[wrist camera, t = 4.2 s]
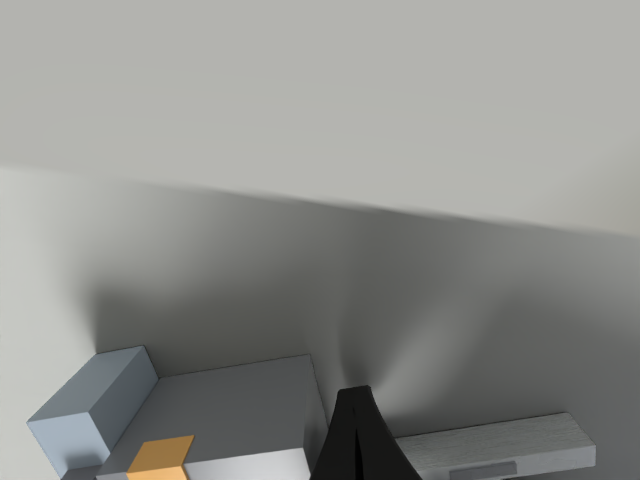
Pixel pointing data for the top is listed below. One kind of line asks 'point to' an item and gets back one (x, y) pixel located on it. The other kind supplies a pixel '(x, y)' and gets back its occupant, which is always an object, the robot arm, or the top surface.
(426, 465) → the rail
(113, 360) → the end clamp
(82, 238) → the top surface
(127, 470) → the module
